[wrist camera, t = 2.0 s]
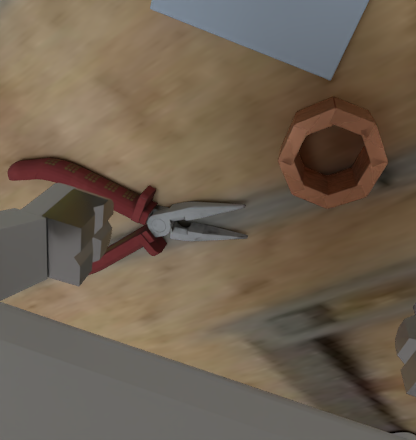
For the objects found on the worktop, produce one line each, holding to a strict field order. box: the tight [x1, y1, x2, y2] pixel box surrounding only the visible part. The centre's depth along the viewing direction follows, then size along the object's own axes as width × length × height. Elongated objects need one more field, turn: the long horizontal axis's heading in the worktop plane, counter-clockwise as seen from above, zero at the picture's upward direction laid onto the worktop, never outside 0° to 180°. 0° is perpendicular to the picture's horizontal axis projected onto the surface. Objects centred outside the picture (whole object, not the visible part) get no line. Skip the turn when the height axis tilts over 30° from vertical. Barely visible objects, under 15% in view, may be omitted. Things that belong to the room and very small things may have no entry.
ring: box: [278, 97, 388, 209], centre depth 25 cm, size 6×6×4 cm
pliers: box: [8, 158, 248, 275], centre depth 33 cm, size 12×20×3 cm, turn 97°
